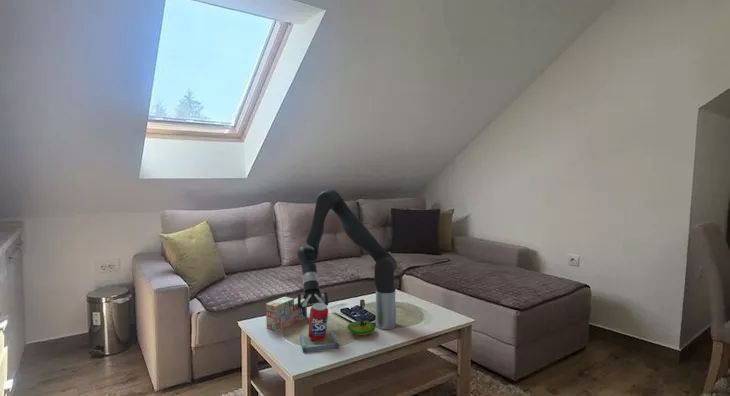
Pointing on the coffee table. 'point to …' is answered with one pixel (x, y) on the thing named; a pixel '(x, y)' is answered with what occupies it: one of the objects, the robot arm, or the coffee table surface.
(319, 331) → the soda can
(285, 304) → the stack of blocks
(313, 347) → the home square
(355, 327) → the pirate figurine
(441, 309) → the coffee table surface
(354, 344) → the coffee table surface
